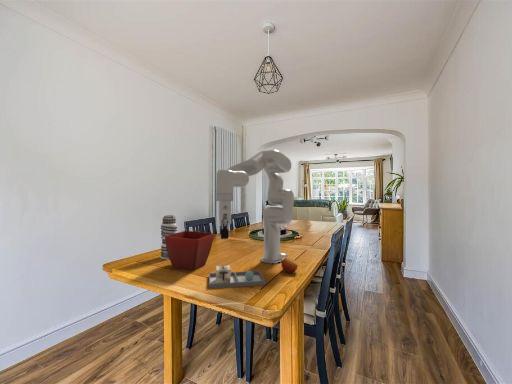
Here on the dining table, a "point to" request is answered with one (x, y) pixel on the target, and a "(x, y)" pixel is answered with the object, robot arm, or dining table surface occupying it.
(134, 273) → the dining table surface
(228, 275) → the letter cube
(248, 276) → the teal ball
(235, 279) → the compartment box
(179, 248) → the plant pot
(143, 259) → the dining table surface
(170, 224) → the decorative candle
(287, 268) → the fruit
